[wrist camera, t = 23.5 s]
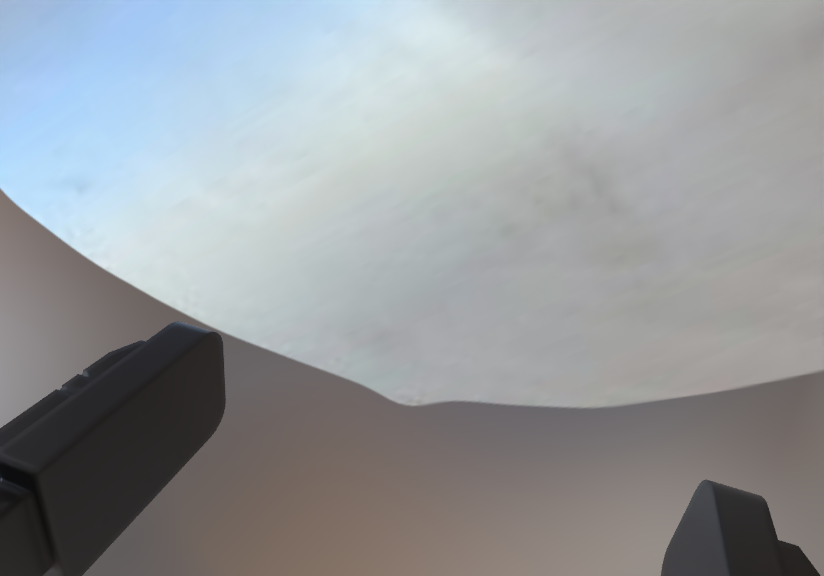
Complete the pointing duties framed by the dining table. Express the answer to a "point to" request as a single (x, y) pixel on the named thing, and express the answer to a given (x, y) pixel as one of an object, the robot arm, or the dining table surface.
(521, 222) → the dining table surface
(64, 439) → the robot arm
